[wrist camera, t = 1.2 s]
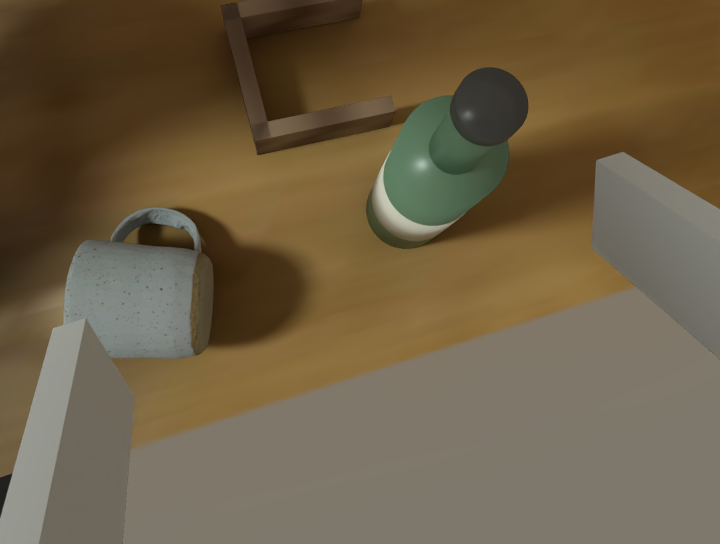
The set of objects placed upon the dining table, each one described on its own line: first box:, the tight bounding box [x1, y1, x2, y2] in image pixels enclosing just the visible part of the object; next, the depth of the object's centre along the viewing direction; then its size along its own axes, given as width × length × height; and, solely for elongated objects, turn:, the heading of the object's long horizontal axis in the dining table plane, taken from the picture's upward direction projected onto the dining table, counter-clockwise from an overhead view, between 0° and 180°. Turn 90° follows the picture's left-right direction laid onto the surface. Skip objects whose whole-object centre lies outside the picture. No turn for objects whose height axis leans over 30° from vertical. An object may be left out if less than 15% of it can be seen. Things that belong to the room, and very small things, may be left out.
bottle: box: [366, 68, 528, 249], centre depth 35 cm, size 6×6×20 cm
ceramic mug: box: [64, 207, 214, 359], centre depth 38 cm, size 11×8×8 cm
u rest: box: [221, 0, 395, 155], centre depth 44 cm, size 10×10×3 cm
